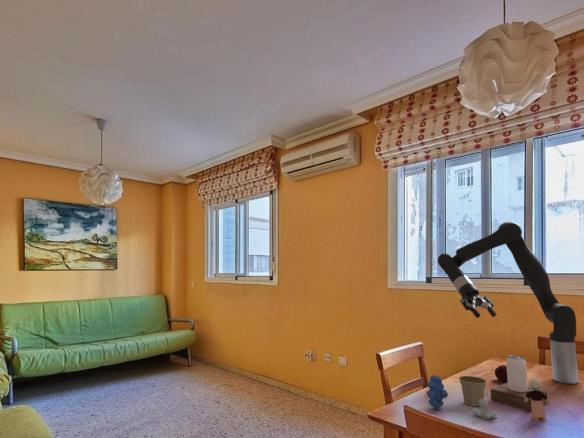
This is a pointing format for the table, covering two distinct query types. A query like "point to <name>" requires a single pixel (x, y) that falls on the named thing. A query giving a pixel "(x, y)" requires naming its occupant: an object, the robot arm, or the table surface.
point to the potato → (501, 373)
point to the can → (517, 374)
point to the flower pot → (472, 389)
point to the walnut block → (512, 397)
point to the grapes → (436, 392)
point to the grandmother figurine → (536, 400)
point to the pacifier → (483, 410)
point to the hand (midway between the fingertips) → (486, 316)
